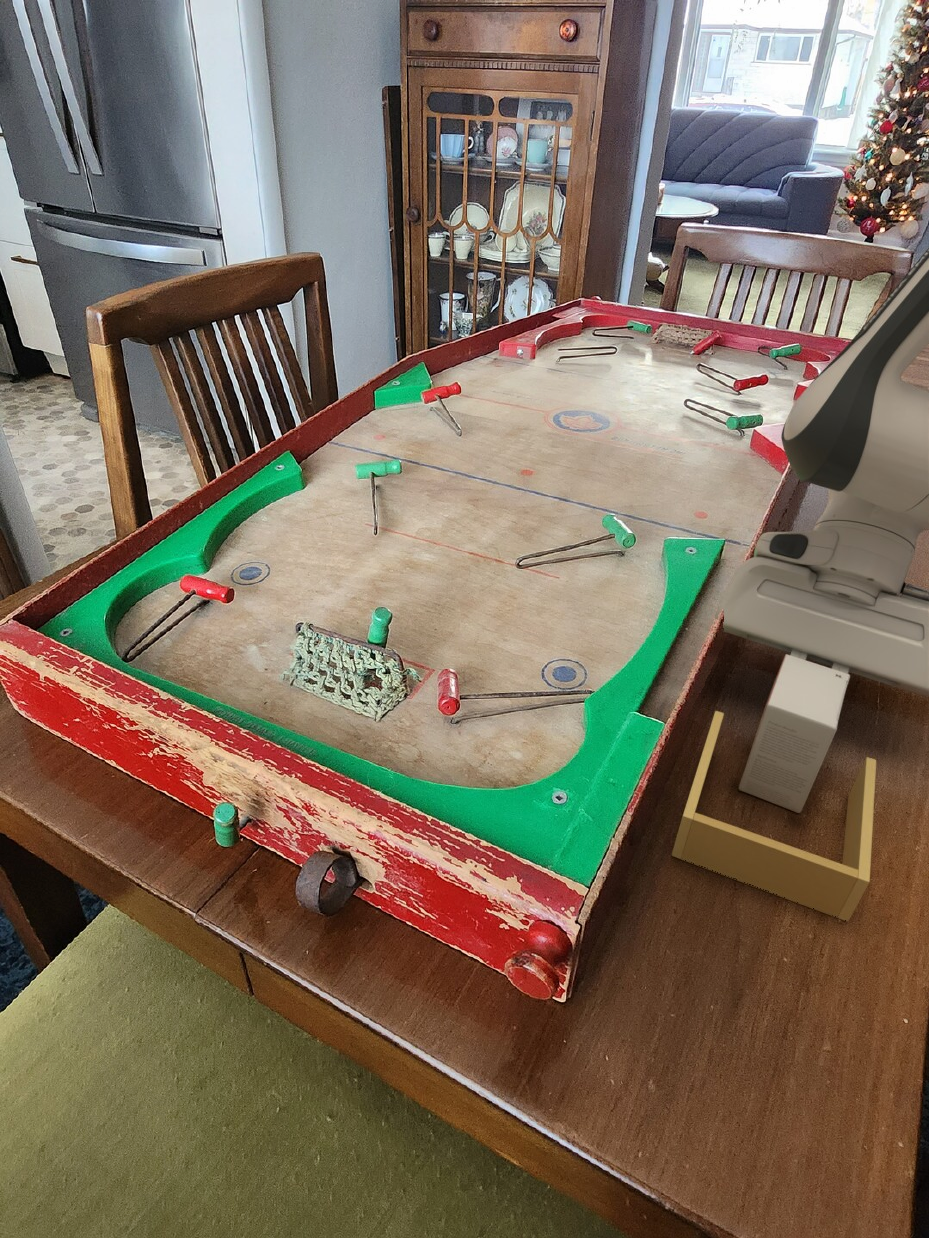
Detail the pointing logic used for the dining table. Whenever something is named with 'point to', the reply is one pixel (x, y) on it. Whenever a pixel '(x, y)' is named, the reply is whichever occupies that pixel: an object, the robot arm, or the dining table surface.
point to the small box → (794, 732)
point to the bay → (783, 848)
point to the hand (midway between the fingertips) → (802, 706)
